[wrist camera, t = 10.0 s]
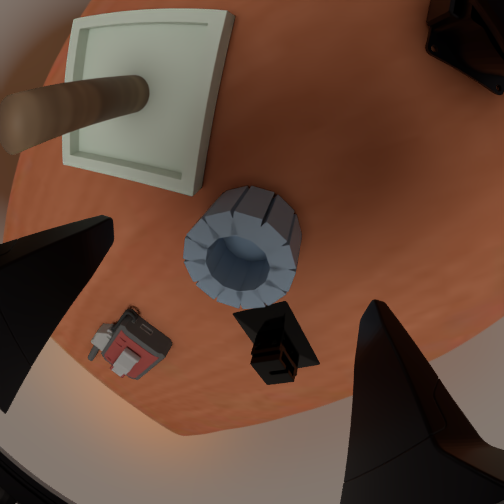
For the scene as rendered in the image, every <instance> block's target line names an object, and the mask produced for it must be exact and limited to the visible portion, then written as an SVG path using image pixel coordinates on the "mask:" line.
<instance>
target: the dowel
mask: <svg viewBox="0 0 504 504" xmlns="http://www.w3.org/2000/svg"><path fill="white" fill-rule="evenodd" d="M148 99H149V86H148V84H147V82H146V80H145V79H144V78H142V77H141V76H138V75H126V76H113V77H103V78H94V79H86V80H79V81H72V82H66V83H60V84H55V85H50V86H45V87H40V88H35V89H31V90H27V91H23V92H19V93H15V94H11V95H8V96H6V97H5V98H4V99H3V101H2V102H1V104H0V142H1V144H2V146H3V148H4V149H5V151H6V152H8V153H9V154H12V155H15V154H17V153H20V152H22V151H24V150H26V149H29V148H31V147H33V146H36V145H38V144H41V143H43V142H46V141H48V140H51V139H53V138H56V137H58V136H61V135H64V134H67V133H69V132H72V131H75V130H78V129H81V128H84V127H87V126H90V125H93V124H96V123H100V122H103V121H106V120H110V119H113V118H117V117H120V116H124V115H128V114H132V113H136V112H138V111H140V110H142V109H143V108H144V107H145V105H146V104H147V102H148Z"/></svg>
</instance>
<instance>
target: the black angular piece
mask: <svg viewBox="0 0 504 504" xmlns="http://www.w3.org/2000/svg"><path fill="white" fill-rule="evenodd" d="M233 315H234V317H235V318H236V320H237V321H238V323H239V324H240V325H241V327H242V328H243V330H244V331H245V332H246V334H247V335H248V337H249V338H250V339H251V341H252V342H253V344H254V345H253V348H252V352H251V355H252V359H251V363H250V364H251V365H252V367H253V368H254V369H255V370H256V372H257V373H258V374H259V376H260V377H261V378H262V379H263V381H264V382H265V383H266V384H267V385H270V384H279V383H287V382H294V379H295V376H296V375H297V369H298V368H302V367H308V366H314V365H319V364H320V362H319V361H318V359H317V357H316V355H315V353H314V351H313V349H312V348H311V346H310V344H309V342H308V340H307V338H306V336H305V335H304V333H303V331H302V329H301V327H300V325H299V323H298V322H297V320H296V318H295V316H294V314H293V312H292V310H291V309H290V307H289V305H288V303H287V302H286V301H283V302H279V303H275V304H271V305H269V306H268V305H266V306H265V307H260V308H253V309H249V310H245V311H240V312H236V313H233Z"/></svg>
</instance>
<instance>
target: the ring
mask: <svg viewBox="0 0 504 504" xmlns="http://www.w3.org/2000/svg"><path fill="white" fill-rule="evenodd" d="M273 196H274V192H272V191H268V190H265V189H261V188H258V187H254V186H251V187H250V189H249V188H248V186H244V187H240V188H236V189H232V190H228V191H226V192H225V193H222V195H221V196H220V197H219V198H218V199H217V200H216V201H215V202H214V203H213V204H212V205H211V206H210V207H209V209H208V210H207V211H206V212H205V213H204V214H203V216H202V217H201V218H200V219H199V220H198V221H197V223H196V224H195V225H194V226H193V227H192V229H191V230H190V231H189V232H188V233H187V236H186V237H185V244H184V254H183V259H186V260H185V261H184V263H185V265H186V268H187V270H188V272H189V274H190V276H191V278H192V280H193V282H196V281H197V283H196V285H197V286H198V287H199V288H200V289H201V290H203V291H204V292H205V293H206V294H207V295H209V296H210V297H211V298H212V299H215V298H216V297H217V296H218V298H217V302H220V303H223V304H226V305H230V306H233V307H236V308H240V305H241V306H242V308H243V309H249V308H260V307H265V306H266V304H267V305H268V306H269V305H271V304H272V303H274V302H275V301H277V300H278V299H280V298H281V297H283V296H284V295H286V293H287V292H288V291H289V289H290V286H291V283H292V281H293V278H294V276H295V273H296V268H297V263H298V257H299V251H300V244H301V238H302V237H301V236H302V233H301V229H300V226H299V222H298V218H297V214H294V210H293V209H292V208H291V207H290V206H289V205H288V204H287V203H286V202H285V201H284V200H283V199H282V198H281V197H280V196H279V195H276V196H275V197H274V198H273Z"/></svg>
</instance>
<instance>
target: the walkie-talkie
mask: <svg viewBox="0 0 504 504" xmlns="http://www.w3.org/2000/svg"><path fill="white" fill-rule="evenodd" d="M91 343H92V344H94V346H93V348H92V350H91V352H90V354H89V355H88V359H89V360H90V361H92V360H93V359H94V357H95V356H96V354H97V352H98V351H99V349H100V350H101V351H102V353H101V354H102V356H103V357H104V359H105V360H106V361H107V362H109V363H110V364H111V367H110V369H111V370H112V371H114V372H115V373H116V374H118V375H119V376H120V377H122V378H123V377H124V376H125V375H127V376H128V377H130V378H132V379H136V380H138V379H139V378H141V377H142V376H143V375H144V374H146V373H147V372H148V371H149V370H151V368H153V367H154V366H155V365H157V363H159V362H160V361H162V359H164V358H165V357H166V355H167V353H168V351H169V349H170V348H171V346H172V342H171V339H170V338H168V337H167V336H165V335H164V334H163V333H161V332H160V331H158V330H157V329H156V328H154V327H153V326H152V325H150V324H149V323H148V322H146V321H145V320H144V319H142V318H141V317H140V316H139V315H138V314H137V313H136V312H135V311H134V310H133V309H127V310H126V311H125V312H124V313H123V315H122V316H121V318H120V320H119V321H118V323H117V324H113V323H112V324H102V326H101V327H100V328H99V330H98V331H97V333H96V334H95V336H94V337H93V338H92V340H91Z"/></svg>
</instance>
